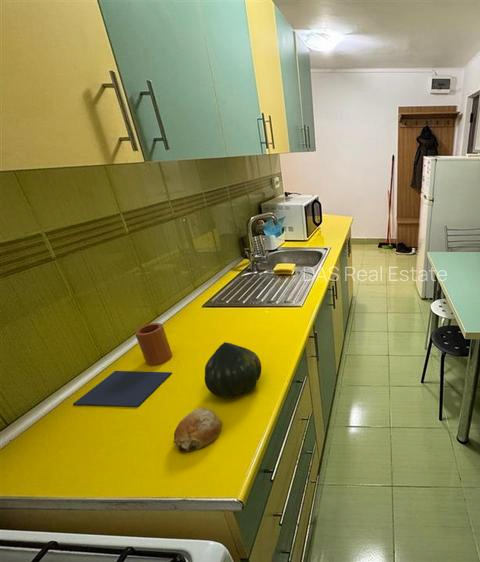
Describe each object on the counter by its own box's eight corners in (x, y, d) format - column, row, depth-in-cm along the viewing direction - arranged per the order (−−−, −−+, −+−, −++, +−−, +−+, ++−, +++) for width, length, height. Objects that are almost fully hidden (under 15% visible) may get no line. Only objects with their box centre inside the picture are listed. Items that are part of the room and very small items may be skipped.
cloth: (73, 405, 84) (72, 403, 84) (115, 371, 97) (115, 370, 97) (138, 407, 83) (137, 406, 83) (172, 373, 96) (171, 372, 96)
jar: (144, 368, 99) (132, 337, 94) (148, 356, 105) (137, 326, 100) (171, 361, 102) (160, 331, 97) (173, 350, 108) (163, 321, 103)
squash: (245, 396, 79) (250, 338, 84) (188, 399, 79) (196, 341, 84) (265, 394, 93) (268, 345, 97) (217, 397, 93) (222, 347, 97)
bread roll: (227, 444, 76) (233, 413, 76) (185, 462, 67) (192, 427, 67) (203, 428, 81) (209, 398, 81) (162, 442, 72) (168, 409, 72)
